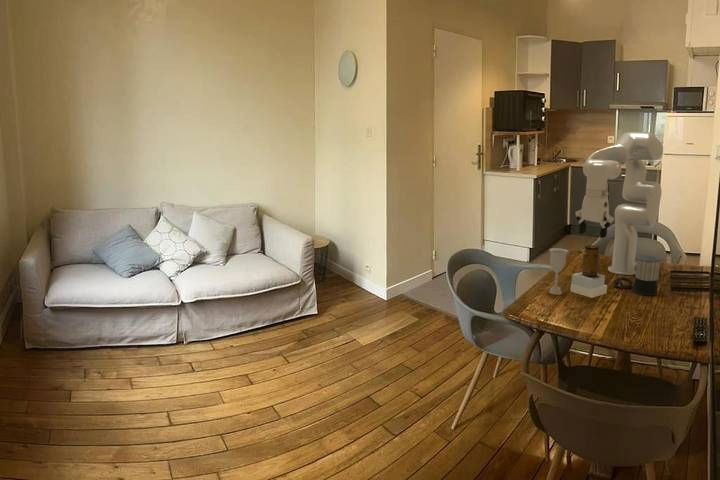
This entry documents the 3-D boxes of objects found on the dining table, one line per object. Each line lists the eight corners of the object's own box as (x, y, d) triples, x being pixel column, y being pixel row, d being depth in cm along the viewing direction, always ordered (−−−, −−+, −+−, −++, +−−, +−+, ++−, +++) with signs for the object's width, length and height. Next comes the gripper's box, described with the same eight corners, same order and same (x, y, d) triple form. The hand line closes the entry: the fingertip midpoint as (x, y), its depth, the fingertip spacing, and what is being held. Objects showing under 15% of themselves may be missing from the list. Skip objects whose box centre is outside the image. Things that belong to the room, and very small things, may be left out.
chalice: (544, 293, 244) (547, 251, 240) (548, 289, 250) (551, 247, 246) (563, 296, 241) (566, 253, 237) (566, 291, 247) (569, 249, 243)
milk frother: (660, 296, 240) (664, 261, 237) (618, 294, 243) (622, 259, 240) (650, 286, 254) (654, 252, 250) (611, 284, 257) (614, 250, 254)
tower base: (585, 288, 253) (585, 279, 252) (606, 294, 245) (607, 285, 244) (570, 292, 247) (571, 283, 246) (591, 299, 239) (592, 289, 238)
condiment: (586, 271, 249) (588, 243, 246) (605, 276, 243) (608, 247, 240) (576, 274, 245) (579, 246, 242) (596, 279, 238) (598, 250, 236)
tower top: (585, 280, 251) (585, 271, 250) (604, 285, 244) (604, 276, 243) (571, 283, 246) (572, 274, 245) (590, 289, 239) (591, 279, 238)
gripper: (621, 195, 232) (617, 237, 236) (583, 189, 246) (580, 230, 250) (609, 197, 228) (605, 240, 232) (571, 191, 242) (568, 232, 246)
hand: (592, 235), depth 241 cm, fingers open, 9 cm apart
